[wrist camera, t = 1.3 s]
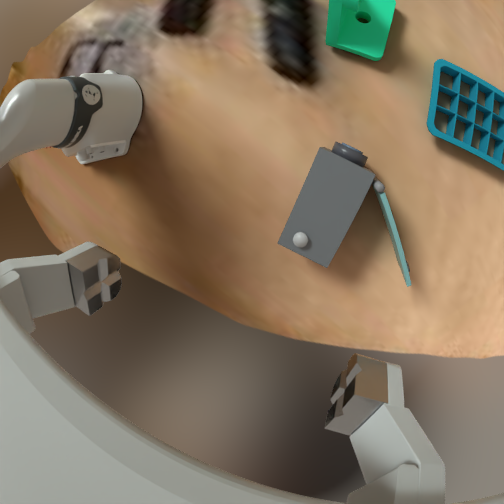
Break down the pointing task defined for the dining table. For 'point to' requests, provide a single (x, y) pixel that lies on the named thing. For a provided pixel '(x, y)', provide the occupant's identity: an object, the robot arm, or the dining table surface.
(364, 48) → the camera mount
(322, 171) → the action camera
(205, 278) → the dining table surface
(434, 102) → the ice cube tray
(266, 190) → the dining table surface
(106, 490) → the robot arm
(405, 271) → the side door
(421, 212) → the dining table surface
